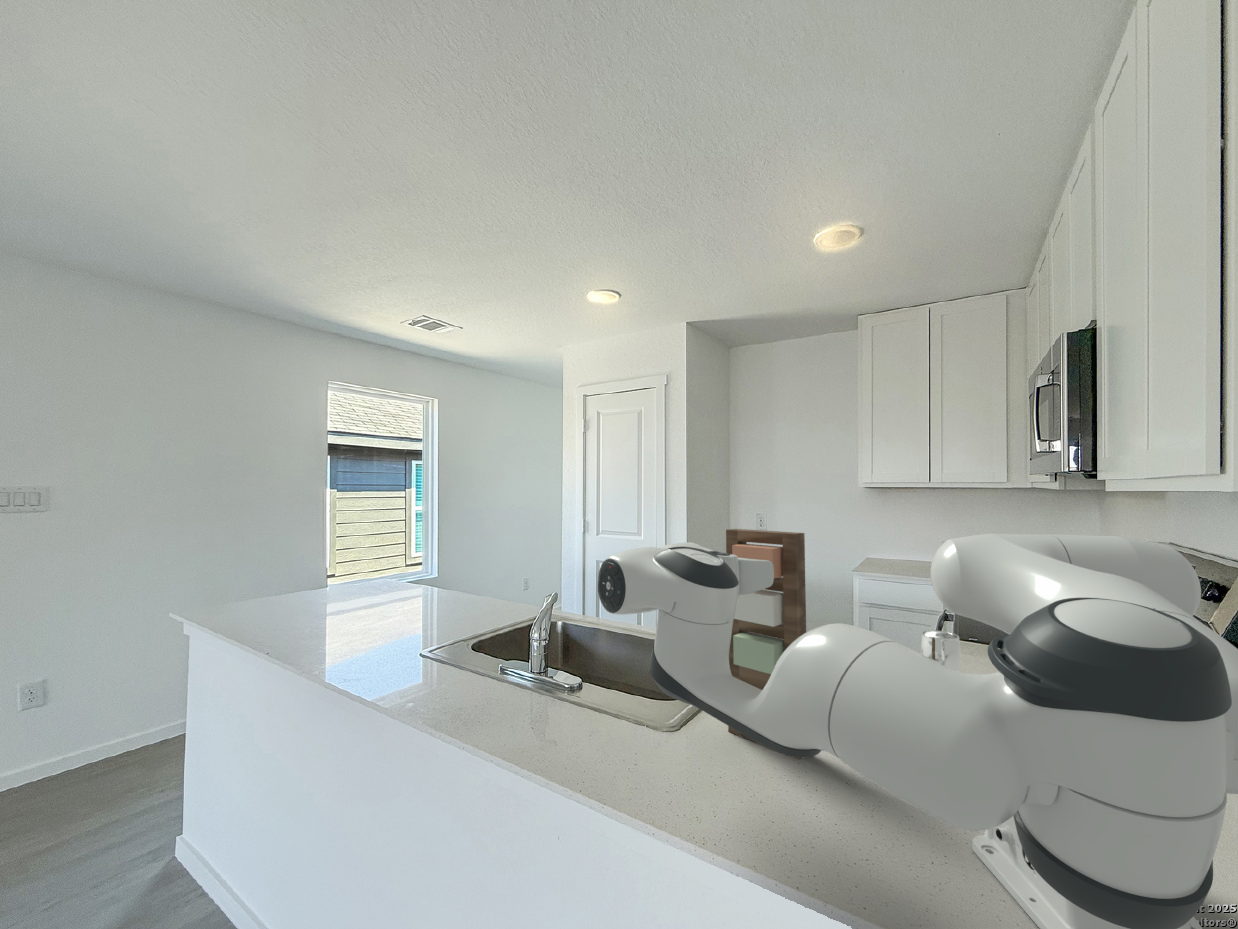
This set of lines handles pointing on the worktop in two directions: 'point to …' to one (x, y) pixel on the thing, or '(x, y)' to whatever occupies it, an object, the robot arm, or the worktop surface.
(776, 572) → the terracotta key
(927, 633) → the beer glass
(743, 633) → the sage key
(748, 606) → the cream key
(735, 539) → the key panel
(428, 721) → the worktop surface
